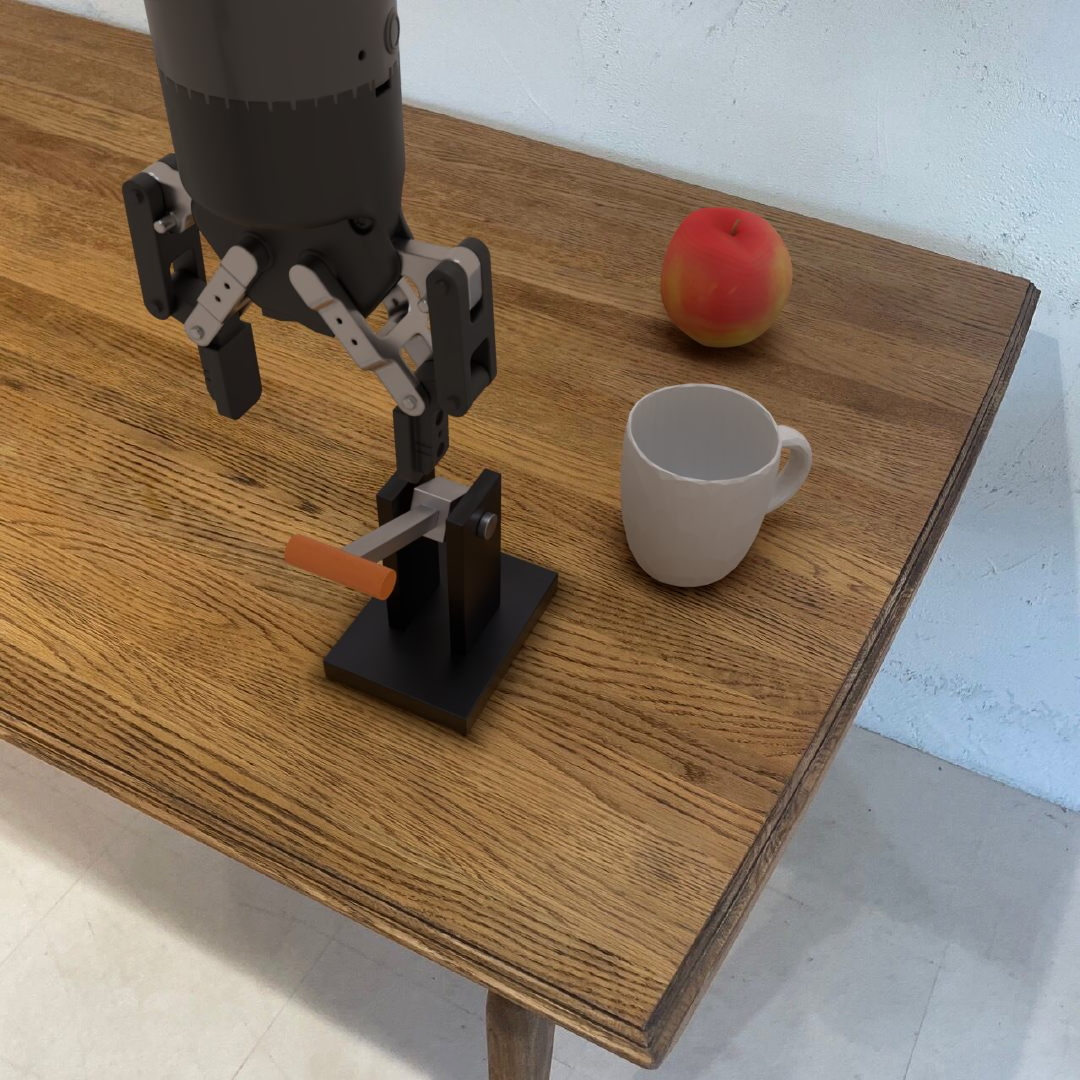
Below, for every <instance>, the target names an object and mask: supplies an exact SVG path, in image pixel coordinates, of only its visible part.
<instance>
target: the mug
mask: <svg viewBox="0 0 1080 1080" xmlns="http://www.w3.org/2000/svg"><path fill="white" fill-rule="evenodd" d="M783 449H789V451H790V452H789V455H788V458H787V461H786V463H785V465H784V466H783V468H782V469H781V471H780V472H779V469H780V462H781V457H782V450H783ZM620 462H621V463H620V472H619V473H620V474H619V475H620V477H619V478H620V481H619V482H620V483H619V484H620V485H619V487H620V505H621V518H622V522H623V527H624V532H625V536H626V542H627V544H628V547H629V550H630V552H631V553H632V555H633V557H634V559H635V561H636V563H637V564H638V565H639V567H641V569H642V570H643V571H644V572H645V573H646V574H648V575H649V576H650V577H651V578H652V579H654V580H656V581H658V582H660V583H663V584H667V585H670V586H675V587H681V588H682V587H683V588H695V587H696V588H697V587H701V586H706V585H710V584H713V583H715V582H717V581H720V580H722V579H723V578H725V577H726V576H728V575H729V574H730V573H731V572H732V571H734V570H735V569H736V568H737V567H738V565H739V564H740V563H741V562H742V561H743V559H744V558H745V557H746V555H747V554H748V552H749V550H750V548H751V547H752V545H753V544H754V541H755V539H756V537H757V536H758V534H759V531H760V529H761V527H762V523H763V521H764V519H765V515H767V514H770V513H772V512H774V511H775V510H777V509H779V508H780V507H781V506H783V505H784V504H786V503H787V502H788V501H789V500H791V499H792V498H793V496H795V494H796V493H798V491H800V489H801V487H802V485H803V484H804V483H805V481H806V479H807V478H808V475H809V474H810V471H811V468H812V464H813V463H812V462H813V453H812V448H811V444H810V443H809V441H808V440H807V439H806V437H805V435H804V434H803V433H801V432H800V431H798V430H796V429H795V428H793V427H790V426H787V425H784V424H782V425H781V424H780V425H778V424H777V423H776V421H775V419H774V416H772V414H771V413H770V411H769V410H768V409H767V408H766V407H764V405H763V404H762V403H761V402H760V401H758V400H756V399H755V398H753V397H751V396H750V395H748V394H746V393H744V392H742V391H740V390H737V389H734V388H731V387H729V386H725V385H719V384H715V383H714V384H713V383H694V382H693V383H691V382H689V383H683V384H677V385H669V386H665V387H661V388H658V389H657V390H654V391H652V392H649V393H647V394H645V395H644V396H643V397H641V398H640V399H639V400H638V401H637V402H635V404H634V405H633V406H632V409H630V411H629V413H628V418H627V422H626V425H625V430H624V434H623V443H622V453H621V461H620Z"/></svg>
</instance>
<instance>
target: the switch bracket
mask: <svg viewBox="0 0 1080 1080" xmlns="http://www.w3.org/2000/svg"><path fill="white" fill-rule="evenodd" d="M435 469H436V466H435V467H434V469H433V470H432V471H431V472H430V474H429V475H426V474H424V475H423V477H422V478H421V479H420V480H419V482H418V483H416V484H414V483H411V482H408V481H405V480H402V479H399V478H398V476H397V469H396V470H395V471H394V473H393V474H392V475H391V476H390V478H389V479H388V480H387V481H386V482H385V483H384V484H383V485H382V487H381V488H380V489H379V491H377V493H376V494H375V502H376V512H377V521H378V523H377V524H378V528H379V527H381V526H382V525H384V524H386V523H388V522H390V521H392V520H393V519H395V518H397V517H399V516H401V515H403V514H404V513H406V512H408V511H410V508H411V502H412V497H413V491H414V488H416V487H418V486H420V485H422V484H424V483H426V482H428V481H429V480H431V479H433V478H435V477H436V470H435ZM469 487H470V488H469V490H468V491H467V492H466V494H465V495H464V496H463V497H462V499H461V500H460V501H459V503H458V504H457V505H456V507H455V508H454V509H453V511H452V512H451V513H450V515H449V516H448V517H447V518H446V520H445V527H446V542H444V543H441V542H438V541H435V540H433V539H430V538H427V537H424V536H421V537H419V538H418V539H416V540H414V541H413V542H411V543H409V544H408V545H406V546H404V547H403V548H401V549H399V550H398V551H396V552H394V553H393V554H391V555H389V556H388V557H386V558H384V559H383V560H381V561H382V566H385V567H388V568H390V569H393V570H395V572H396V582H395V585H394V588H393V590H392V592H391V594H390V595H389V597H388V598H387V599H385V600H380V599H377V598H375V597H372V596H371V597H370V599H369V600H368V602H367V603H366V604H365V606H364V607H363V608H362V609H361V611H360V612H359V613H358V615H357V616H356V617H355V618H354V620H353V621H352V622H351V624H350V625H349V626H348V628H347V629H346V630H345V631H344V632H343V634H342V635H341V636H340V638H339V639H338V640H337V641H336V643H335V644H334V645H333V647H332V648H331V649H330V651H329V652H328V653H327V654H326V656H325V657H324V658H323V659H322V665H323V672H324V677H325V678H326V679H329V680H331V681H334V682H337V683H339V684H341V685H344V686H345V687H349V688H351V689H353V690H356V691H359V692H361V693H363V694H365V695H368V696H370V697H373V698H375V699H377V700H380V701H382V702H384V703H387V704H388V705H391V706H394V707H397V708H399V709H401V710H404V711H406V712H408V713H411V714H413V715H416V716H418V717H420V718H422V719H425V720H428V721H429V722H432V723H435V724H437V725H440V726H442V727H444V728H447V729H450V730H451V731H454V732H457V733H458V734H461V735H464V736H467V735H468V734H469V732H470V730H471V729H472V727H473V725H474V724H475V722H476V720H477V719H478V718H479V716H480V714H481V713H482V711H483V709H484V708H485V706H486V705H487V704H488V701H489V700H490V698H491V697H492V695H493V694H494V692H495V690H496V689H497V687H498V686H499V684H500V682H501V681H502V679H503V678H504V676H505V674H506V673H507V671H508V669H509V668H510V666H511V665H512V664H513V661H514V660H515V658H516V657H517V655H518V654H519V652H520V650H521V648H522V647H523V646H524V644H525V642H526V641H527V639H528V638H529V635H531V633H532V631H533V630H534V628H535V626H536V624H537V623H538V621H539V620H540V618H541V616H542V615H543V613H544V612H545V610H546V609H547V607H548V605H549V604H550V602H551V601H552V599H553V597H554V595H555V594H556V593H557V591H558V589H559V572H558V571H554V570H551V569H549V568H546V567H543V566H541V565H538V564H535V563H533V562H530V561H527V560H524V559H521V558H519V557H516V556H514V555H511V554H508V553H505V552H502V473H501V472H498V471H497V470H496V471H495V470H492V469H490V468H486V467H485V468H484V469H483V470H482V471H481V473H480V474H479V475H478V476H477V478H476V479H475V480H474V481H473V483H472V484H471V486H469Z"/></svg>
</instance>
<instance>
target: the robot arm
mask: <svg viewBox="0 0 1080 1080" xmlns="http://www.w3.org/2000/svg"><path fill="white" fill-rule="evenodd" d="M143 4H144V5H143V6H144V9H145V14H146V19H147V24H148V29H149V33H150V39H151V43H152V48H153V53H154V58H155V63H156V68H157V73H158V77H159V82H160V89H161V93H162V98H163V101H164V108H165V112H166V117H167V122H168V126H169V127H168V128H169V132H170V137H171V142H172V146H173V151H174V152H169V153H167V154H165V155H163V156H162V157H161V158H159V159H158V160H156V161H155V162H152V163H151V164H150V165H148V166H147V167H146V168H144V169H143V170H141V171H139V172H138V173H136V174H135V175H133V176H132V177H130V178H128V179H127V180H126V181H124V182H123V183H122V185H121V193H122V199H123V204H124V208H125V214H126V218H127V224H128V230H129V234H130V239H131V245H132V250H133V254H134V260H135V265H136V270H137V275H138V281H139V287H140V290H141V295H142V301H143V305H144V307H145V309H146V311H147V312H148V313H149V314H150V315H151V316H152V317H153V318H155V319H157V320H159V321H166V320H168V319H169V318H173V319H174V320H176V321H178V322H179V323H181V324H182V325H183V328H184V332H185V334H186V336H187V337H188V338H189V340H190V341H191V342H193V343H194V344H195V345H196V346H197V351H198V354H199V360H200V365H201V369H202V373H203V377H204V382H205V387H206V390H207V392H208V394H209V396H210V397H211V399H212V401H215V405H216V411H217V413H218V415H219V416H222V417H224V418H227V419H230V420H232V421H238V420H240V419H241V418H242V417H243V416H244V415H245V414H246V413H248V411H249V410H250V409H252V407H254V406H255V405H256V404H257V403H258V401H260V398H261V396H262V393H263V385H262V379H261V373H260V367H259V361H258V355H257V350H256V345H255V344H256V343H255V338H254V333H253V328H252V323H251V322H249V321H245V320H242V319H241V317H242V316H243V315H245V314H246V313H247V311H248V310H249V309H250V308H251V306H252V305H253V304H255V305H256V306H257V307H259V308H260V309H261V315H262V316H263V317H266V318H269V319H272V320H276V321H279V322H290V323H291V322H292V323H293V322H295V323H298V324H300V325H302V326H304V327H306V328H307V329H309V330H311V331H312V332H315V333H317V334H320V335H323V336H326V337H330V338H332V339H335V337H336V339H337V340H338V342H339V343H340V344H341V345H342V347H343V349H344V350H345V351H346V353H347V355H348V356H349V357H350V358H351V360H352V361H353V363H354V364H355V365H356V366H357V368H358V369H360V370H362V371H364V372H365V371H366V372H367V371H368V372H369V371H371V372H372V373H374V374H375V376H376V377H377V379H378V380H379V381H380V383H381V384H382V386H383V387H384V388H385V390H386V391H387V392H388V394H389V396H390V397H391V399H392V400H393V401H394V403H395V404H396V406H395V407H394V408H393V409H392V411H391V412H392V424H393V440H394V451H395V452H394V453H395V465H396V470H397V476H398V478H399V479H402V480H405V481H408V482H411V483H414V484H416V483H418V482H419V480H420V479H421V478H422V477H423V475H424V474H426V475H429V474H430V472H431V471H432V470H433V469H434V467H435V468H436V466H437V465H438V464H439V463H440V461H441V460H442V459H443V458H444V457H445V455H446V453H447V452H448V449H449V448H450V436H449V435H450V429H449V426H450V424H449V416H451V417H453V418H463V417H464V416H465V415H466V414H467V413H468V412H469V410H470V409H471V408H472V407H473V405H474V403H475V401H476V400H477V399H478V397H480V395H481V394H482V393H483V392H484V391H485V389H486V388H487V387H489V386H490V385H491V384H492V382H493V381H494V380H495V379H496V377H497V375H498V363H497V361H498V360H497V345H496V328H495V327H496V326H495V313H494V311H495V310H494V294H493V293H494V292H493V276H492V259H491V253H490V250H489V248H488V246H487V244H486V243H484V242H483V241H482V240H480V239H479V238H477V237H473V236H468V237H465V238H463V239H462V240H461V241H460V242H459V243H458V244H457V245H456V246H455V247H448V246H445V245H444V246H443V245H439V244H435V243H431V242H426V241H421V240H417V239H415V236H414V234H413V232H412V230H411V228H410V226H409V225H408V223H407V220H406V218H405V217H406V216H405V215H404V212H403V207H402V198H403V189H404V182H405V174H406V147H405V131H404V113H403V96H402V93H403V92H402V72H401V54H400V53H401V52H400V36H401V23H400V17H399V14H398V0H143ZM201 235H202V236H203V237H204V239H205V240H206V242H207V243H208V245H209V246H210V247H211V249H212V250H213V251H214V253H215V254H216V256H217V257H218V259H219V260H220V262H219V266H218V267H217V269H216V271H215V272H214V274H213V275H212V277H210V279H209V281H207V275H206V268H205V261H204V260H205V259H204V253H203V247H202V240H201ZM171 266H172V268H173V272H172V273H171ZM407 279H408V280H409V281H410V282H411V283H412V284H413V285H414V287H415V288H416V290H417V293H418V295H417V294H416V292H415V290H414V289H413V287H412V286H411V285H410V283H409V282H408V280H407ZM381 304H382V305H383V306H384V308H385V309H386V313H387V321H386V323H385V324H384V325H383V326H382V327H381V328H380V329H379V330H378V331H377V332H375V331H374V330H373V329H372V327H371V325H370V324H369V323H368V322H367V320H366V319H367V318H368V317H369V316H370V315H372V313H373V312H375V310H376V309H377V308H378V307H379V305H381ZM428 322H429V327H428ZM429 328H430V329H429ZM402 349H403V350H404V351H405V352H406V355H407V356H408V357H409V358H410V360H411V362H412V363H413V364H414V365H415V367H416V370H414V372H413V370H412V369H411V367H410V366H409V364H408V363H407V362H406V360H405V359H404V357H403V354H402Z"/></svg>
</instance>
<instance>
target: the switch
mask: <svg viewBox="0 0 1080 1080" xmlns="http://www.w3.org/2000/svg"><path fill="white" fill-rule="evenodd" d="M470 487H471V486H469V485H466V484H462V483H459V482H456V481H453V480H451V479H449V478H445V477H442V476H439V475H436V476H435V478H433V479H431V480H429V481H428V482H426V483H424V484H422V485H420V486H418V487H416V488H414V491H413V497H412V502H411V508H410V511H408V512H406V513H404V514H403V515H401V516H399V517H397V518H395V519H393V520H392V521H390V522H388V523H386V524H384V525H382V526H381V527H379V526H378V527H377V528H375V529H373V530H371V531H369V532H368V533H366V534H363V535H362V536H360V537H359V538H357V539H355V540H353V541H351V542H349V543H348V544H345V545H344V546H342V547H340V548H338V547H335V546H333V545H330V544H327V543H324V542H323V541H320V540H316V539H314V538H311V537H308V536H306V535H303V534H301V533H295V534H294V535H293V536H291V537H290V538H289V540H288V542H287V543H286V545H285V548H284V552H283V559H284V561H285V564H288V565H290V566H293V567H296V568H298V569H300V570H303V571H305V572H308V573H311V574H314V575H316V576H318V577H321V578H324V579H326V580H329V581H331V582H333V583H336V584H339V585H341V586H345V587H347V588H349V589H351V590H354V591H357V592H360V593H362V594H365V595H367V596H370V597H371V598H372V597H375V598H377V599H380V600H385V599H387V598H388V597H389V595H390V594H391V592H392V590H393V588H394V585H395V582H396V572H395V570H393V569H390V568H388V567H385V566H383V564H380V563H379V562H381V561H382V560H383V559H384V558H386V557H388V556H389V555H391V554H393V553H394V552H396V551H398V550H399V549H401V548H403V547H404V546H406V545H408V544H409V543H411V542H413V541H414V540H416V539H418V538H419V537H421V536H424V537H427V538H430V539H433V540H435V541H438V542H441V543H444V542H446V527H445V520H446V518H447V517H448V516H449V515H450V513H451V512H452V511H453V509H454V508H455V507H456V505H457V504H458V503H459V501H460V500H461V499H462V497H463V496H464V495H465V494H466V492H467V491H468V490H469V488H470Z"/></svg>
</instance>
